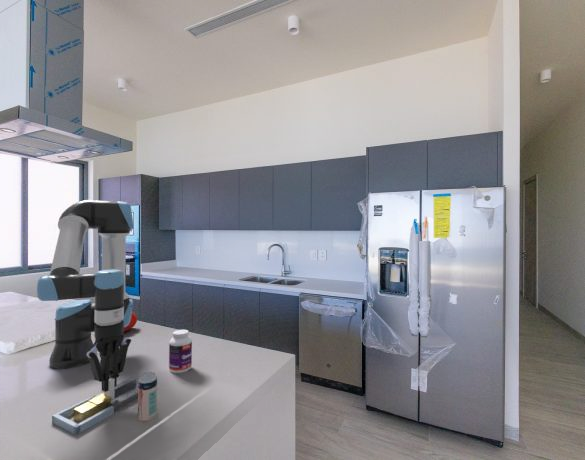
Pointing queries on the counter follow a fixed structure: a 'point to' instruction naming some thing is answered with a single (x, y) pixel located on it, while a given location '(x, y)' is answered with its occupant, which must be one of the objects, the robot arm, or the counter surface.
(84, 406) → the tan small block
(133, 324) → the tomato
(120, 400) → the slot rail
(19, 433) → the counter surface
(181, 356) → the pill bottle
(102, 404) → the block
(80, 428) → the chip tray
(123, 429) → the counter surface
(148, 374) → the beer can
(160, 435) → the counter surface
